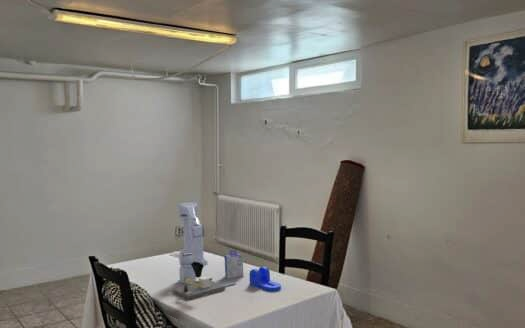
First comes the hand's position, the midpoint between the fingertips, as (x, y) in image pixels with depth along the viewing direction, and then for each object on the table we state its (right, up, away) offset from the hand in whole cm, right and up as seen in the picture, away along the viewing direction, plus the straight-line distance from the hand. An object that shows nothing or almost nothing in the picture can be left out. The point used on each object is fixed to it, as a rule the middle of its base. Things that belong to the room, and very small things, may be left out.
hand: (198, 276), depth 235 cm
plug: (+3, -9, +10) cm, 14 cm away
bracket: (+34, -9, +14) cm, 38 cm away
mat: (+11, -9, +19) cm, 23 cm away
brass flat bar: (-2, -8, -2) cm, 8 cm away
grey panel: (0, -9, +8) cm, 12 cm away
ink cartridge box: (+16, -8, +33) cm, 38 cm away
